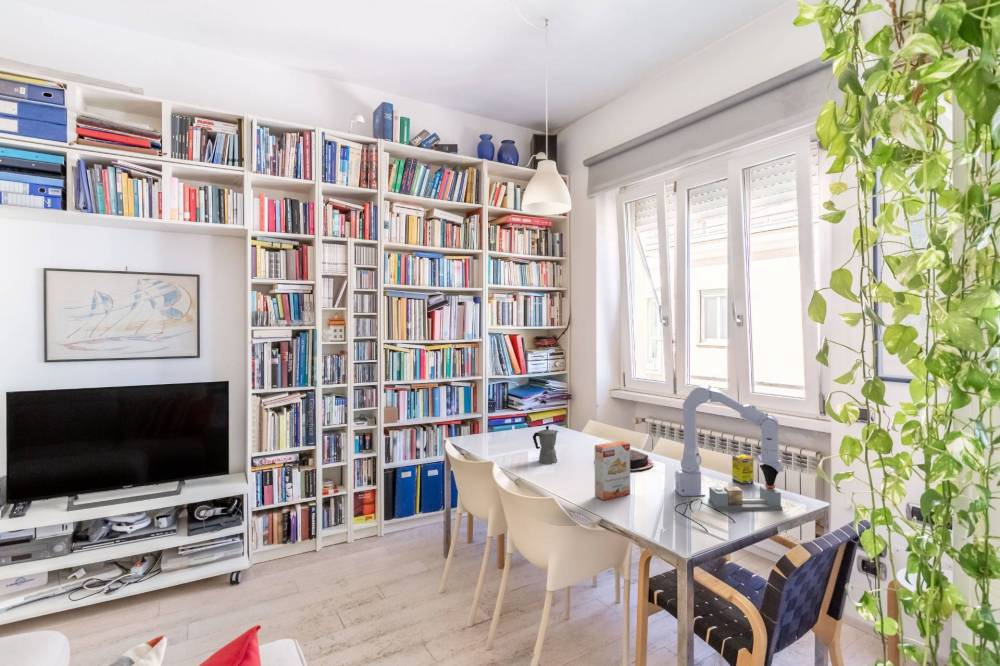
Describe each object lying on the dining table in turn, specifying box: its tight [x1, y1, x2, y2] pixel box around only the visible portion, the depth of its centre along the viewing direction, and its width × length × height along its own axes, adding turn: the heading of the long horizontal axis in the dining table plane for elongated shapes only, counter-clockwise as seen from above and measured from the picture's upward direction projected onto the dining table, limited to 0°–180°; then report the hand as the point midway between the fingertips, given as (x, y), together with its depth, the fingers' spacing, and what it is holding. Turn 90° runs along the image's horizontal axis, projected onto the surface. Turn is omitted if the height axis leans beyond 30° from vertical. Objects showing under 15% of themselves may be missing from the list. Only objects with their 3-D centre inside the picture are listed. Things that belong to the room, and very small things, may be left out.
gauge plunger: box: [764, 483, 776, 491], centre depth 180 cm, size 3×3×4 cm
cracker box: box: [594, 440, 631, 501], centre depth 194 cm, size 14×6×21 cm, turn 118°
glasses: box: [674, 498, 737, 533], centre depth 169 cm, size 14×15×5 cm
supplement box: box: [731, 454, 754, 486], centre depth 206 cm, size 6×6×11 cm
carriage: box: [723, 486, 743, 504], centre depth 181 cm, size 5×4×5 cm
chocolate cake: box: [630, 448, 654, 472], centre depth 237 cm, size 28×28×7 cm
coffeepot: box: [532, 425, 559, 465], centre depth 242 cm, size 15×9×18 cm, turn 121°
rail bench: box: [707, 485, 783, 512], centre depth 181 cm, size 23×9×6 cm, turn 88°
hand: (770, 484), depth 180 cm, fingers closed, pressing on gauge plunger
